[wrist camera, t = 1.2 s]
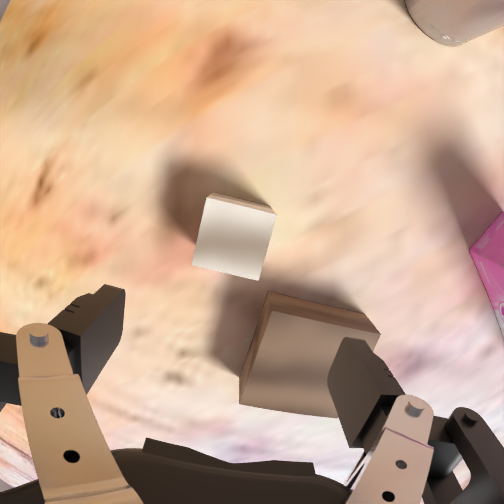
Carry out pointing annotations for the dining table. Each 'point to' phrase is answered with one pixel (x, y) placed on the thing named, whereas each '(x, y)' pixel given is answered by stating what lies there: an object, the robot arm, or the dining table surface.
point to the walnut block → (298, 354)
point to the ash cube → (233, 236)
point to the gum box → (492, 265)
